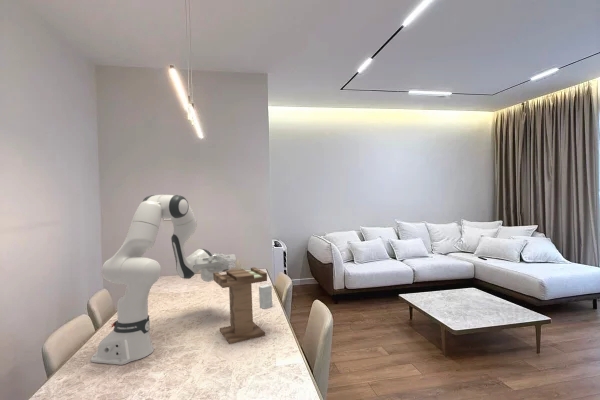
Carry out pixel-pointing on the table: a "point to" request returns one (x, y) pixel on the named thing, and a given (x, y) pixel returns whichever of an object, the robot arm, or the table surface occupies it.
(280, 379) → the table surface
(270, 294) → the skincare box
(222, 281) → the walnut pedestal
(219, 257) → the aluminium bar
